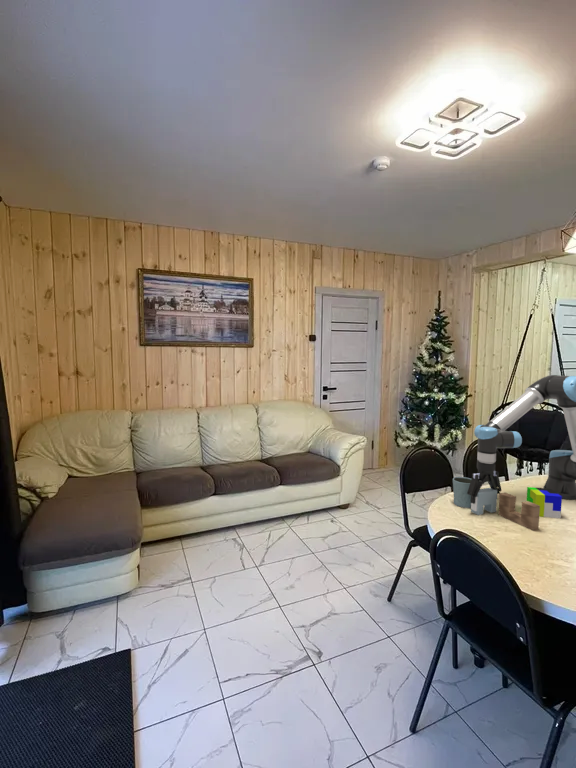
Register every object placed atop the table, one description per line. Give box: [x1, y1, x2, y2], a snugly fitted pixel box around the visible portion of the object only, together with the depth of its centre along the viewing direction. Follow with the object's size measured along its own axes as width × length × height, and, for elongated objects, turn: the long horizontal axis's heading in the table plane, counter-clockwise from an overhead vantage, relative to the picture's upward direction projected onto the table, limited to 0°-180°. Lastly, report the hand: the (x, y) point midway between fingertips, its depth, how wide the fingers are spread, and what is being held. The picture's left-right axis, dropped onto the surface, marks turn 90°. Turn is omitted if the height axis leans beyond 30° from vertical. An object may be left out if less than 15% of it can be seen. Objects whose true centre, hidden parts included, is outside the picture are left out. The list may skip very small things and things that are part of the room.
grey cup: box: [452, 476, 472, 509], centre depth 181 cm, size 10×10×12 cm
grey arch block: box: [470, 487, 498, 516], centre depth 173 cm, size 11×4×10 cm, turn 111°
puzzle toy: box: [526, 486, 563, 519], centre depth 172 cm, size 10×10×10 cm
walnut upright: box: [497, 492, 540, 531], centre depth 162 cm, size 16×4×10 cm, turn 21°
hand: (483, 508), depth 173 cm, fingers closed on grey arch block, 11 cm apart
